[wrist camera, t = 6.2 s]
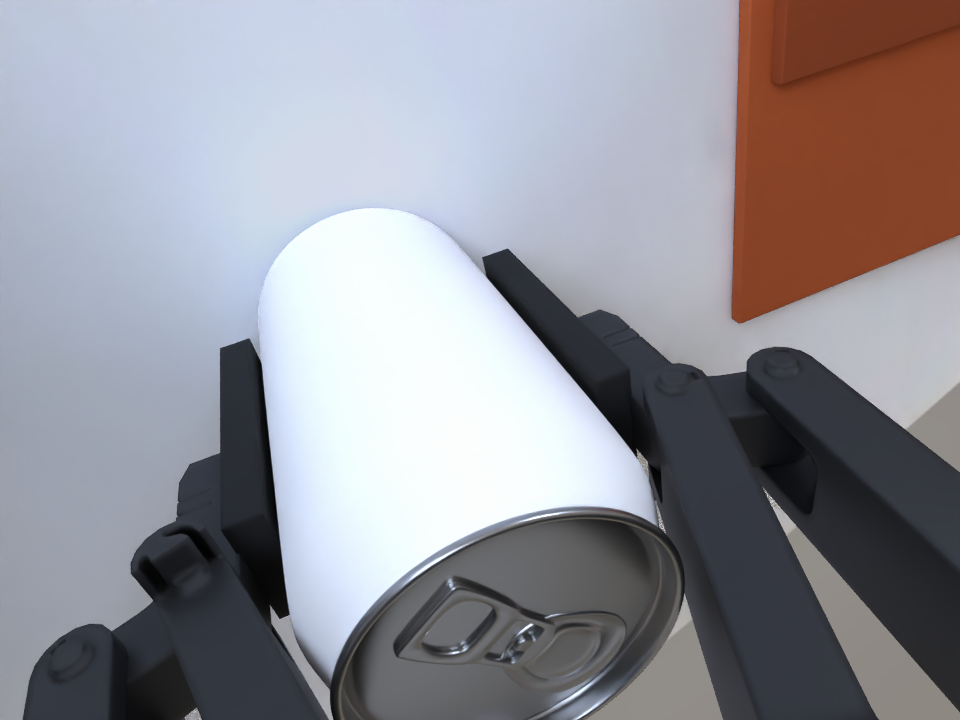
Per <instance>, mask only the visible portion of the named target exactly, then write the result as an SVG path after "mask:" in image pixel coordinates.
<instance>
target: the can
mask: <svg viewBox="0 0 960 720" xmlns="http://www.w3.org/2000/svg"><path fill="white" fill-rule="evenodd" d="M258 326H259V340H260V352H261V362H262V373H263V383H264V393H265V403H266V413H267V423H268V432H269V442H270V451H271V461H272V470H273V480H274V489H275V498H276V508H277V517H278V526H279V535H280V544H281V552H282V561H283V570H284V578H285V586H286V593H287V600H288V607H289V613H290V618H291V622H292V626H293V630H294V633H295V637H296V640H297V642H298V645H299V647H300V649H301V651H302V652H303V654H304V656H305V658H306V659H307V661H308V662H309V664H310V665H311V667H312V668H313V669H314V671H315V672H316V673H317V675H318V676H319V677H320V678H321V680H322V681H323V682H324V683H325V684H326V686H327V687H328V688H329V689H330V705H331V712H332V716H333V719H334V720H586V719H587V718H588V717H590V716H591V715H593V714H594V713H596V712H597V711H599V710H600V709H601V708H603V707H604V706H605V705H607V704H608V703H609V702H610V701H612V700H613V699H614V698H615V697H617V696H618V695H619V694H620V693H621V692H622V691H623V690H625V689H626V688H627V687H628V686H629V685H630V684H631V683H632V682H633V681H634V680H635V679H636V678H637V677H638V676H639V675H640V674H641V673H642V672H643V671H644V669H645V668H646V667H647V666H648V665H649V663H650V662H651V661H652V660H653V659H654V657H655V656H656V655H657V653H658V652H659V650H660V649H661V648H662V646H663V644H664V643H665V641H666V640H667V638H668V636H669V635H670V633H671V631H672V629H673V627H674V625H675V623H676V620H677V618H678V615H679V612H680V610H681V606H682V602H683V597H684V591H685V573H684V567H683V563H682V559H681V557H680V554H679V552H678V550H677V548H676V547H675V545H674V544H673V542H672V541H671V539H670V538H669V537H668V536H667V535H666V534H665V533H664V532H663V531H662V530H661V529H660V528H659V521H658V515H657V509H656V504H655V499H654V495H653V491H652V488H651V485H650V482H649V479H648V477H647V475H646V473H645V471H644V469H643V467H642V466H641V464H640V463H639V461H638V460H637V458H636V456H635V455H634V453H633V452H632V451H631V449H630V448H629V447H628V446H627V444H626V443H625V442H624V440H623V439H622V438H621V437H620V435H619V434H618V433H617V432H616V430H615V429H614V428H613V426H612V425H611V424H610V423H609V422H608V420H607V419H606V418H605V417H604V416H603V414H602V413H601V412H600V411H599V410H598V408H597V407H596V406H595V405H594V404H593V402H592V401H591V400H590V399H589V398H588V396H587V395H586V394H585V393H584V392H583V390H582V389H581V388H580V387H579V386H578V384H577V383H576V382H575V381H574V380H573V379H572V377H571V376H570V375H569V374H568V373H567V371H566V370H565V369H564V368H563V367H562V365H561V364H560V363H559V362H558V361H557V360H556V358H555V357H554V356H553V355H552V354H551V352H550V351H549V350H548V349H547V348H546V347H545V345H544V344H543V343H542V342H541V341H540V340H539V338H538V337H537V336H536V335H535V334H534V332H533V331H532V330H531V329H530V328H529V327H528V325H527V324H526V323H525V322H524V321H523V320H522V318H521V317H520V316H519V315H518V314H517V312H516V311H515V310H514V309H513V308H512V307H511V305H510V304H509V303H508V302H507V301H506V300H505V298H504V297H503V296H502V295H501V294H500V293H499V291H498V290H497V289H496V288H495V287H494V286H493V284H492V283H491V282H490V281H489V280H488V279H487V277H486V276H485V275H484V274H483V273H482V272H481V270H480V269H479V268H478V267H477V266H476V265H475V264H474V262H473V261H472V260H471V259H470V258H469V257H468V256H467V254H466V253H465V252H464V251H463V250H462V249H461V248H460V247H459V246H458V244H457V243H456V242H455V241H454V240H453V239H452V238H451V237H450V236H448V235H447V234H446V233H445V232H444V231H443V230H441V229H440V228H439V227H437V226H436V225H434V224H433V223H431V222H429V221H427V220H425V219H423V218H421V217H419V216H416V215H414V214H411V213H407V212H404V211H399V210H394V209H386V208H365V209H357V210H351V211H347V212H343V213H339V214H336V215H333V216H331V217H328V218H326V219H324V220H322V221H320V222H318V223H316V224H314V225H312V226H311V227H309V228H308V229H306V230H305V231H303V232H302V233H301V234H299V235H298V236H297V237H296V238H295V239H293V240H292V241H291V242H290V243H289V244H288V245H287V246H286V247H285V249H284V250H283V251H282V252H281V253H280V255H279V256H278V257H277V259H276V260H275V262H274V263H273V265H272V267H271V268H270V270H269V272H268V274H267V276H266V279H265V281H264V284H263V287H262V291H261V295H260V300H259V309H258Z"/></svg>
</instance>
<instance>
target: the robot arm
mask: <svg viewBox="0 0 960 720" xmlns="http://www.w3.org/2000/svg"><path fill="white" fill-rule="evenodd" d="M482 258H483V263H484V267H485V272H486V276H487V279H488V280H489V281H490V282H491V283H492V284H493V286H494V287H495V288H496V289H497V290H498V291H499V293H500V294H501V295H502V296H503V297H504V298H505V300H506V301H507V302H508V303H509V304H510V305H511V307H512V308H513V309H514V310H515V311H516V312H517V314H518V315H519V316H520V317H521V318H522V320H523V321H524V322H525V323H526V324H527V325H528V327H529V328H530V329H531V330H532V331H533V332H534V334H535V335H536V336H537V337H538V338H539V340H540V341H541V342H542V343H543V344H544V345H545V347H546V348H547V349H548V350H549V351H550V352H551V354H552V355H553V356H554V357H555V358H556V360H557V361H558V362H559V363H560V364H561V365H562V367H563V368H564V369H565V370H566V371H567V373H568V374H569V375H570V376H571V377H572V379H573V380H574V381H575V382H576V383H577V384H578V386H579V387H580V388H581V389H582V390H583V392H584V393H585V394H586V395H587V396H588V398H589V399H590V400H591V401H592V402H593V404H594V405H595V406H596V407H597V408H598V410H599V411H600V412H601V413H602V414H603V416H604V417H605V418H606V419H607V420H608V422H609V423H610V424H611V425H612V426H613V428H614V429H615V430H616V432H617V433H618V434H619V435H620V437H621V438H622V439H623V440H624V442H625V443H626V444H627V446H628V447H629V448H630V449H631V451H632V452H633V453H634V455H635V456H636V458H637V449H638V451H639V452H640V453H641V454H642V455H643V456H644V458H645V459H646V460H647V461H648V470H649V482H650V485H651V488H652V491H653V495H654V499H655V500H656V502H657V505H658V508H659V511H660V515H661V518H662V521H663V524H664V528H665V531H666V534H667V536H668V537H669V538H670V539H671V541H672V542H673V544H674V545H675V547H676V548H677V550H678V552H679V554H680V557H681V559H682V563H683V567H684V573H685V591H684V593H685V596H686V600H687V603H688V606H689V609H690V613H691V616H692V619H693V622H694V626H695V629H696V632H697V635H698V638H699V642H700V645H701V649H702V652H703V655H704V658H705V662H706V664H707V668H708V671H709V674H710V678H711V681H712V684H713V688H714V691H715V694H716V698H717V701H718V704H719V707H720V711H721V714H722V717H723V720H879V719H878V718H877V717H876V715H875V713H874V711H873V710H872V708H871V706H870V704H869V702H868V700H867V698H866V696H865V694H864V692H863V690H862V688H861V686H860V684H859V682H858V680H857V678H856V676H855V674H854V672H853V670H852V668H851V666H850V664H849V662H848V660H847V658H846V656H845V654H844V651H843V649H842V647H841V645H840V643H839V642H838V639H837V638H836V635H835V633H834V631H833V629H832V627H831V625H830V623H829V621H828V619H827V617H826V615H825V613H824V611H823V609H822V607H821V605H820V603H819V601H818V599H817V597H816V595H815V593H814V591H813V589H812V587H811V585H810V583H809V581H808V579H807V577H806V575H805V573H804V571H803V569H802V567H801V565H800V563H799V560H798V559H797V556H796V554H795V552H794V550H793V548H792V546H791V544H790V542H789V540H788V538H787V536H786V534H785V532H784V530H783V528H782V526H781V524H780V522H779V520H778V518H777V516H776V514H775V512H774V510H773V508H772V506H771V504H770V502H769V500H768V498H767V496H766V494H765V492H764V490H763V488H764V489H765V490H766V491H767V493H768V494H769V495H770V496H771V497H772V498H773V499H774V501H775V502H776V503H777V504H778V505H779V506H780V507H781V509H782V510H783V511H784V512H785V513H786V514H787V515H788V516H789V518H790V519H791V520H792V521H793V522H794V523H795V524H796V526H797V527H798V528H799V529H800V530H801V531H802V532H803V534H804V535H805V536H806V537H807V538H808V539H809V540H810V542H811V543H812V544H813V545H814V546H815V547H816V548H817V550H818V551H819V552H820V553H821V554H822V555H823V556H824V558H826V560H827V561H828V562H829V563H830V564H831V566H832V567H833V568H834V569H835V570H836V571H837V572H838V574H839V575H840V576H841V577H842V578H843V579H844V580H845V582H846V583H847V584H848V585H849V586H850V587H851V588H852V589H853V590H854V592H855V593H856V594H857V595H858V596H859V598H860V599H861V600H862V601H863V602H864V603H865V604H866V605H867V607H868V608H870V610H871V611H872V612H873V614H874V615H875V616H876V617H877V618H878V619H879V620H880V622H881V623H882V624H883V625H884V626H885V627H886V628H887V629H888V631H889V632H890V633H891V634H892V635H893V636H894V637H895V639H896V640H897V641H898V642H899V643H900V644H901V645H902V646H903V648H904V649H905V650H906V651H907V652H908V653H909V654H910V656H911V657H912V658H913V659H914V660H915V661H916V663H917V664H918V665H919V666H920V667H921V668H922V669H923V671H924V672H925V673H926V674H927V675H928V676H929V677H930V678H931V680H932V681H933V682H934V683H935V684H936V685H937V686H938V688H939V689H940V690H941V691H942V692H943V693H944V694H945V696H946V697H947V698H948V699H949V700H950V701H951V703H952V704H953V705H954V706H955V707H956V708H957V709H958V710H959V712H960V472H959V471H957V470H956V469H955V468H953V467H952V466H951V465H950V464H948V463H947V462H946V461H944V460H943V459H942V458H941V457H939V456H938V455H937V454H936V453H934V452H933V451H932V450H930V449H929V448H928V447H927V446H925V445H924V444H923V443H921V442H920V441H919V440H918V439H916V438H915V437H914V436H912V435H911V434H910V433H909V432H907V431H906V430H905V429H904V428H902V427H901V426H900V425H899V424H897V423H896V422H895V421H893V420H892V419H891V418H890V417H888V416H887V415H886V414H884V413H883V412H882V411H881V410H879V409H878V408H877V407H876V406H874V405H873V404H872V403H870V402H869V401H868V400H867V399H865V398H864V397H863V396H861V395H860V394H859V393H858V392H856V391H855V390H854V389H853V388H851V387H850V386H849V385H847V384H846V383H845V382H844V381H842V380H841V379H840V378H839V377H837V376H836V375H835V374H833V373H832V372H831V371H830V370H828V369H827V368H826V367H824V366H823V365H822V364H821V363H819V362H818V361H817V360H816V359H814V358H813V357H812V356H810V355H808V354H806V353H804V352H803V351H800V350H796V349H792V348H788V347H772V348H767V349H762V350H760V351H758V352H756V353H754V354H752V355H751V357H750V358H749V359H748V360H747V371H746V372H741V373H734V374H727V375H720V376H706V375H705V374H704V372H703V371H702V370H700V369H698V368H696V367H694V366H691V365H686V364H681V363H677V364H672V363H671V362H670V361H668V360H667V359H666V358H665V357H664V356H663V355H662V354H660V353H659V352H658V351H657V350H656V349H655V348H654V347H652V346H651V345H650V344H649V343H648V342H647V341H646V340H645V339H643V338H642V337H639V334H638V333H637V332H635V331H634V330H633V329H632V328H631V329H630V327H629V325H627V324H626V323H625V322H624V321H623V320H622V319H621V318H620V317H618V316H617V315H614V314H611V313H608V312H605V311H603V310H597V311H594V312H592V313H589V314H586V315H584V316H581V317H577V316H576V315H575V314H574V313H573V312H572V311H571V310H570V309H569V308H568V307H567V306H566V305H564V304H563V303H562V302H561V301H560V300H559V299H558V298H557V297H556V296H555V295H554V294H553V293H552V292H551V291H550V290H549V289H548V288H547V287H546V286H545V285H544V284H543V283H542V282H541V281H540V280H539V279H538V278H537V277H536V276H535V275H534V274H533V273H532V272H531V271H530V270H529V269H528V268H527V267H526V266H525V265H524V264H523V263H522V262H521V261H520V260H519V259H518V258H517V257H516V256H515V255H514V254H513V253H512V252H511V251H510V250H509V249H505V250H502V251H499V252H496V253H494V254H491V255H488V256H485V257H482ZM636 448H637V449H636ZM762 487H763V488H762ZM178 502H179V503H178V504H177V516H178V517H177V518H176V522H173V523H171V524H169V525H166V526H164V527H162V528H160V529H159V530H157V531H156V532H155V533H153V534H152V535H151V536H149V537H148V538H147V539H146V540H145V541H144V542H143V543H142V544H141V546H140V547H139V548H138V549H137V550H136V552H135V554H134V557H133V559H132V561H131V574H132V576H133V577H134V578H135V579H136V580H137V581H138V583H139V584H140V585H141V586H142V587H143V589H144V590H145V591H146V592H147V593H148V595H149V596H150V597H151V598H152V599H153V602H152V603H151V604H150V605H149V606H148V607H146V608H145V609H144V610H142V611H141V612H140V613H138V614H137V615H136V616H134V617H133V618H131V619H130V620H128V621H127V622H125V623H124V624H122V625H121V626H119V627H118V628H116V629H115V630H113V631H112V632H111V631H110V630H109V629H108V628H106V627H105V626H104V625H102V624H88V625H85V626H81V627H78V628H75V629H73V630H72V631H70V632H69V633H67V634H65V635H64V636H62V637H60V638H59V639H58V640H57V641H56V642H55V643H54V644H52V645H51V646H50V647H49V648H48V649H47V650H46V651H45V652H44V654H43V655H42V656H41V658H40V659H39V661H38V662H37V663H36V665H35V666H34V669H33V672H32V675H31V677H30V680H29V685H28V691H27V697H26V703H25V709H24V715H23V720H185V716H186V715H188V714H189V713H190V712H191V711H193V710H194V709H195V708H198V711H199V713H200V716H201V718H202V720H329V719H328V717H327V715H326V714H325V712H324V710H323V709H322V707H321V705H320V704H319V702H318V700H317V698H316V697H315V695H314V693H313V692H312V690H311V688H310V687H309V685H308V683H307V681H306V680H305V678H304V676H303V675H302V673H301V671H300V670H299V668H298V666H297V665H296V663H295V661H294V659H293V658H292V656H291V654H290V653H289V651H288V649H287V648H286V646H285V644H284V642H283V641H282V639H281V637H280V636H279V634H278V633H277V631H276V630H275V628H274V627H273V625H272V624H271V613H270V605H271V607H272V608H273V610H274V611H275V613H276V614H277V616H278V617H279V619H281V618H283V617H286V616H288V615H290V613H289V607H288V600H287V593H286V586H285V578H284V570H283V561H282V552H281V544H280V535H279V526H278V517H277V508H276V498H275V489H274V480H273V470H272V461H271V451H270V442H269V432H268V423H267V413H266V403H265V393H264V383H263V373H262V363H261V361H260V359H259V357H258V355H257V353H256V351H255V349H254V347H253V345H252V343H251V341H250V339H246V340H243V341H240V342H237V343H235V344H232V345H229V346H226V347H223V348H220V453H219V454H216V455H213V456H211V457H208V458H205V459H203V460H200V461H197V462H195V463H192V464H190V465H189V466H188V468H187V470H186V472H185V473H184V475H183V477H182V479H181V481H180V482H179V491H178Z"/></svg>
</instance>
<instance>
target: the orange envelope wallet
mask: <svg viewBox="0 0 960 720" xmlns="http://www.w3.org/2000/svg"><path fill="white" fill-rule="evenodd" d="M958 235H960V0H740V21H739V60H738V99H737V138H736V176H735V215H734V254H733V293H732V319H733V320H735V321H736V322H738V323H743V322H746V321H748V320H751V319H753V318H755V317H758V316H760V315H763V314H765V313H768V312H770V311H773V310H775V309H778V308H780V307H783V306H785V305H788V304H790V303H792V302H795V301H797V300H800V299H802V298H805V297H807V296H810V295H812V294H815V293H817V292H820V291H822V290H825V289H827V288H830V287H832V286H834V285H837V284H839V283H842V282H844V281H847V280H849V279H852V278H854V277H857V276H859V275H862V274H864V273H867V272H869V271H871V270H874V269H876V268H879V267H881V266H884V265H886V264H889V263H891V262H894V261H896V260H899V259H901V258H904V257H906V256H908V255H911V254H913V253H916V252H918V251H921V250H923V249H926V248H928V247H931V246H933V245H936V244H938V243H941V242H943V241H945V240H948V239H950V238H953V237H955V236H958Z"/></svg>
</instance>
